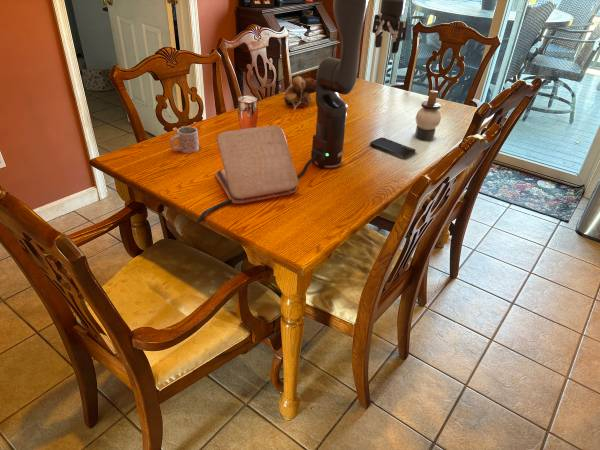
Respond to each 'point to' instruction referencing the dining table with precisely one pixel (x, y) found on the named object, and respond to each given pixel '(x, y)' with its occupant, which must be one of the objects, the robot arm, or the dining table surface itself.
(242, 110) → the beer glass
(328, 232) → the dining table surface
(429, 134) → the stand
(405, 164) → the dining table surface
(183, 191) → the dining table surface
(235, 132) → the case
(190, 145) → the mug
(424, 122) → the ball
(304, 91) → the seed pod
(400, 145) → the phone
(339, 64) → the robot arm
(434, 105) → the knob on round base
